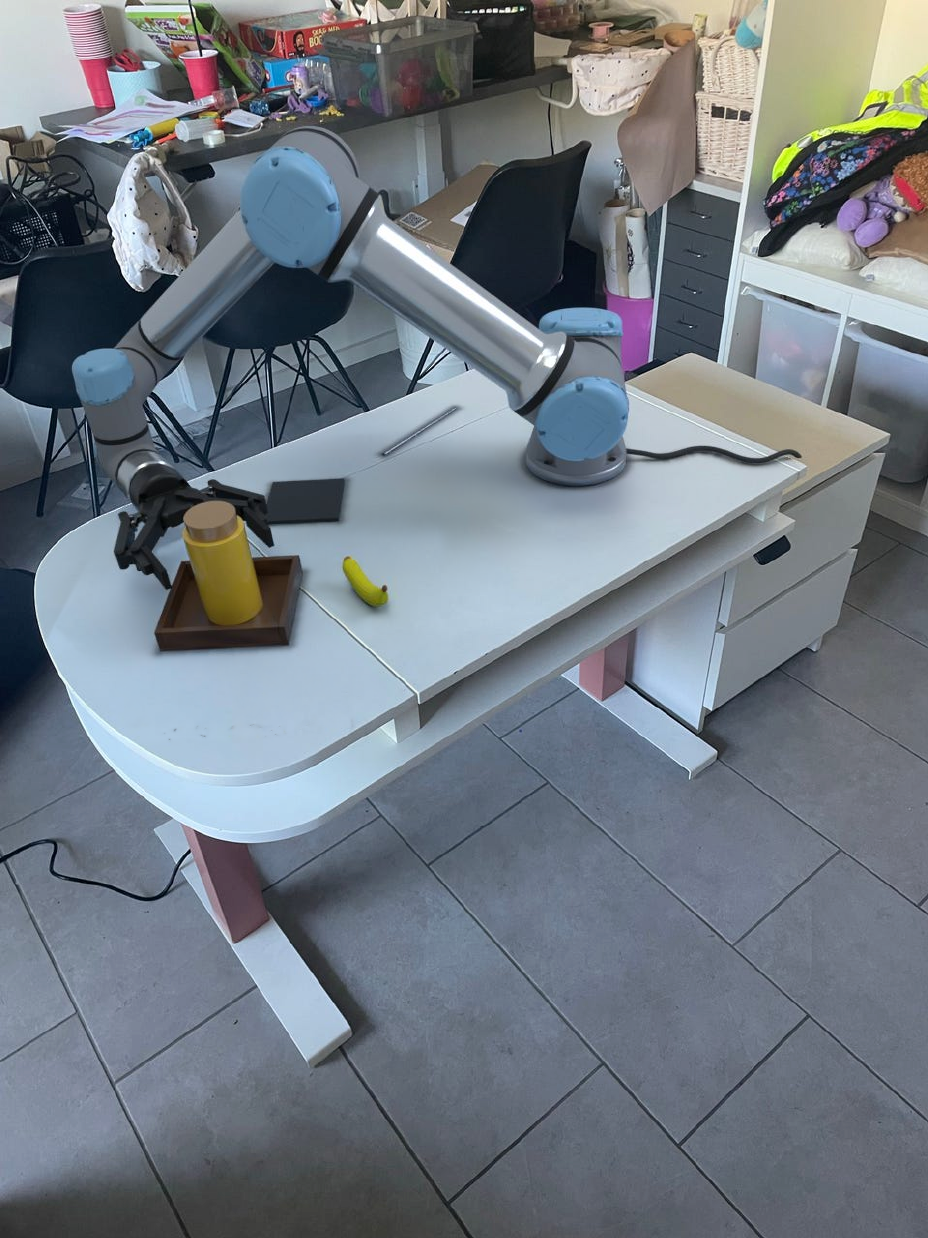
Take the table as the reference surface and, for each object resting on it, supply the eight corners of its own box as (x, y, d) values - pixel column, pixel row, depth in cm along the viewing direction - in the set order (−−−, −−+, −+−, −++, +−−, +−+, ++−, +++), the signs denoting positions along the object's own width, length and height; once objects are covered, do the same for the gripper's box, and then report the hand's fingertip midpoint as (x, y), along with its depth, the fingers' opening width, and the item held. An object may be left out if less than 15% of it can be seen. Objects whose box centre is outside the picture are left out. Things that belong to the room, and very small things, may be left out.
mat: (345, 481, 138) (344, 477, 138) (338, 521, 130) (338, 517, 130) (273, 485, 139) (272, 481, 138) (262, 525, 130) (261, 521, 130)
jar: (266, 588, 118) (245, 496, 109) (258, 624, 112) (234, 529, 103) (211, 591, 118) (185, 499, 109) (200, 627, 112) (171, 533, 103)
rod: (458, 410, 156) (457, 406, 155) (385, 457, 144) (385, 453, 144) (454, 408, 156) (454, 405, 156) (382, 455, 145) (382, 451, 144)
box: (303, 573, 121) (299, 554, 119) (288, 645, 109) (284, 626, 107) (186, 579, 121) (180, 560, 119) (160, 651, 110) (153, 632, 108)
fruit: (397, 615, 113) (393, 583, 110) (382, 622, 112) (378, 590, 109) (356, 577, 119) (351, 546, 116) (342, 583, 118) (336, 552, 115)
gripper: (244, 481, 132) (314, 546, 118) (73, 544, 121) (129, 623, 107) (233, 435, 127) (305, 496, 113) (54, 496, 116) (110, 572, 103)
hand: (219, 558), depth 110 cm, fingers open, 13 cm apart
